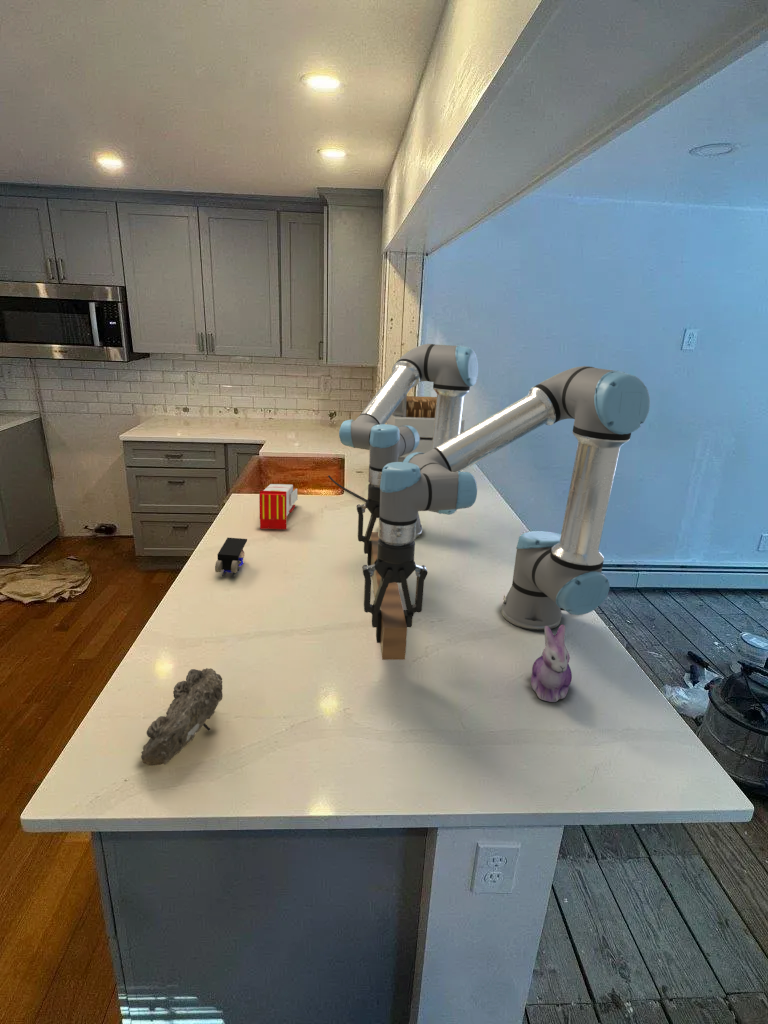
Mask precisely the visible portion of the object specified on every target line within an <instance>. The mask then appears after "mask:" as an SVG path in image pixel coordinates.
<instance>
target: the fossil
mask: <svg viewBox="0 0 768 1024" xmlns="http://www.w3.org/2000/svg"><path fill="white" fill-rule="evenodd" d="M172 696H173V700H172V701H171V703H170V704H169V707H168V708H167V710H166V712H165V713H166V714H165V715H166V716H163V715H160V716H158V717H157V718H156V720H153V721H152V722H151V724H150V725H149V726H148V728H147V730H146V736H147V737H148V738H149V739H148V740H147V742H146V743H145V744H144V745H143V746H142V750H141V752H140V753H141V756H140V759H141V762H142V763H143V764H146V765H148V766H149V767H155V766H160V765H167V764H168V763H169V762H170V761H172V759H174V757H176V755H178V754H180V752H181V751H182V750H183V749H184V748H185V747H186V746H187V745H189V744H190V742H192V741H193V739H194V738H195V736H196V734H197V733H198V732H199V731H200V730H201V729H202V728H204V729H206V730H207V731H208V732H209V731H211V728H210V726H208V724H206V721H207V720H210V719H211V718H212V716H213V715H214V714H215V711H216V709H217V707H218V705H219V703H220V702H221V701H222V699H223V698H224V697H223V696H224V695H223V677H222V676H221V674H219V673H217V671H216V670H215V669H213V668H207V667H206V668H203V669H202V670H200V669H196V668H191V669H190V670H189V671H188V673H187V675H186V677H185V680H181V681H178V682H177V683H176V684H175V685H174V687H173V695H172Z"/></svg>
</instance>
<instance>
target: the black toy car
mask: <svg viewBox="0 0 768 1024" xmlns="http://www.w3.org/2000/svg"><path fill="white" fill-rule="evenodd" d="M247 542H248V538H240V537H226V539H225V541H224V543H223V544H222V546H221V547H220V549H219V551H218V552H217V560H216V562H215V564H214V572H215V573H221V577H222V578H224V577H225V576H226V574H227V573H230V574H231V573H232V574H231V578H234V577H235V575H236V573H237V572H239V571H240V567H242V566H243V565H244V564H245V562H244V558H245V551H244V547H245V546H246V544H247Z"/></svg>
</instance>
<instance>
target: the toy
mask: <svg viewBox="0 0 768 1024" xmlns="http://www.w3.org/2000/svg"><path fill="white" fill-rule="evenodd" d="M258 495H259V497H258V500H259V501H258V503H259V529H260V530H287V517H288V516H289V514H290V513H292V512H293V510H294V509H295V507H296V504H295V503H296V502H297V501H299V500H298V498H299V496H298V488H295V489H294V484H290V483H289V484H288V483H287V484H284V483H269V485H268V486H266V487H265V489H263V490H259V494H258Z"/></svg>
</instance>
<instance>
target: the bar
mask: <svg viewBox="0 0 768 1024" xmlns="http://www.w3.org/2000/svg"><path fill="white" fill-rule="evenodd" d="M379 539H380V538H379V537H378V531H372V534H371V537H370V540H371V544H372V545H371V565H373V564H374V563H375V561H376V559H377V551H378V540H379ZM380 580H381V576H380V575H379V573H378V572H377V571H376V570H375V571H374V575H373V576H372V577H371V584H372V589H373V598H374V599H375V596H376V593H377V590H378V587H379V584H380ZM398 584H399V583H396V582H393V583H389V584H388V587H387V589H386V592H385V595H384V598H383V601H382V604H381V607H380V610H381V614H382V620H381V639H380V643H379V646H380V653H381V660H382V661H384V660H385V661H388V660H389V661H390V660H391V661H394V660H395V661H396V660H399V661H400V660H401V661H402V660H403V661H404V660H406V654H407V653H406V652H407V651H406V650H407V637H408V634H407V633H408V627H407V625H406V620H405V616H404V611H403V610H404V607H403V602H402V597H401V593H400V589H399V585H398Z"/></svg>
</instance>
